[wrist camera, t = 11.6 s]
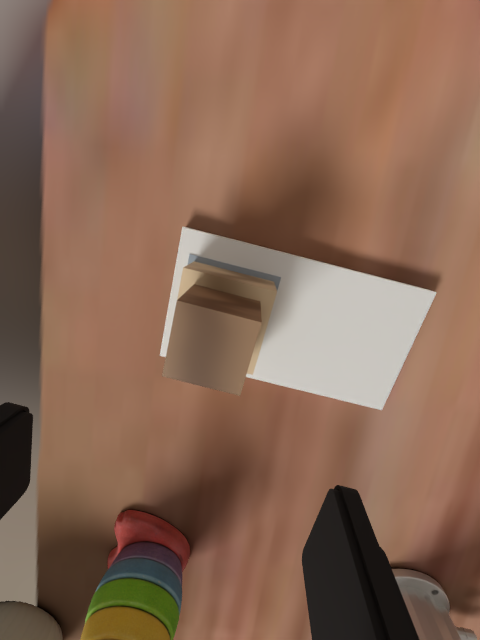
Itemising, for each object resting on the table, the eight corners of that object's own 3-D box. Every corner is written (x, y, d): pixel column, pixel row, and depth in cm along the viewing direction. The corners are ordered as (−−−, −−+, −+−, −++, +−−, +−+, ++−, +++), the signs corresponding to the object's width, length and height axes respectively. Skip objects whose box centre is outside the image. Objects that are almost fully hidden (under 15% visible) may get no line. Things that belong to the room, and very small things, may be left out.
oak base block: (273, 281, 25) (277, 291, 21) (253, 354, 27) (252, 374, 23) (194, 261, 25) (183, 267, 21) (179, 335, 27) (167, 353, 23)
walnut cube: (260, 301, 22) (261, 322, 17) (243, 361, 23) (240, 395, 18) (194, 283, 21) (176, 300, 17) (181, 345, 23) (162, 376, 18)
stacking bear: (120, 504, 36) (-3, 756, 19) (200, 525, 36) (152, 791, 19) (108, 563, 39) (-6, 823, 22) (182, 581, 39) (126, 851, 22)
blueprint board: (428, 289, 26) (437, 292, 25) (376, 403, 30) (382, 410, 28) (185, 226, 25) (182, 226, 24) (163, 350, 29) (159, 356, 28)
